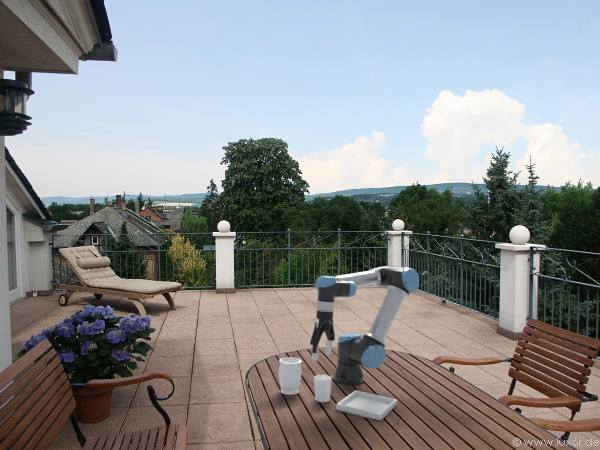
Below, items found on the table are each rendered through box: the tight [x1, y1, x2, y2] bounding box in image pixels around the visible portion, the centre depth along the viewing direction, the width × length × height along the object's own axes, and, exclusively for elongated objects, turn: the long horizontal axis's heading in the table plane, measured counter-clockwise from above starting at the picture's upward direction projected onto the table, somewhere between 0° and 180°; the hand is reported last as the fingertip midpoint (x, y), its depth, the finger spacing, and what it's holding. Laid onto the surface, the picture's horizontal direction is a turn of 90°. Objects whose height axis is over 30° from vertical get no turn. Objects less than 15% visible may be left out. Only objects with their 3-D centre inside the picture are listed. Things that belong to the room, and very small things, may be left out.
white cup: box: [313, 374, 333, 403], centre depth 213 cm, size 8×8×10 cm
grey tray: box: [335, 389, 398, 422], centre depth 205 cm, size 20×20×2 cm
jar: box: [278, 356, 302, 396], centre depth 221 cm, size 11×10×15 cm
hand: (321, 357), depth 214 cm, fingers open, 13 cm apart
